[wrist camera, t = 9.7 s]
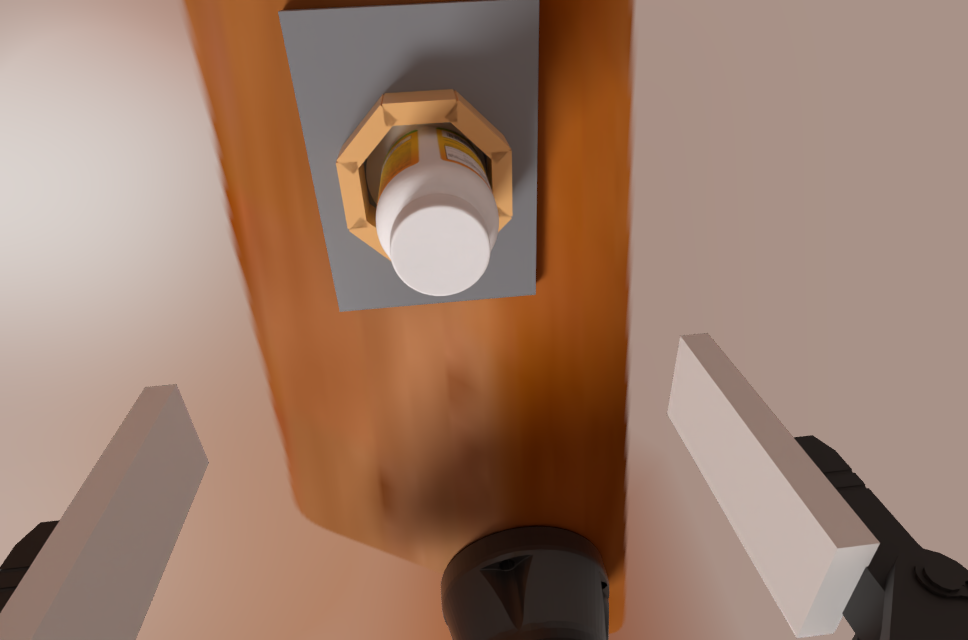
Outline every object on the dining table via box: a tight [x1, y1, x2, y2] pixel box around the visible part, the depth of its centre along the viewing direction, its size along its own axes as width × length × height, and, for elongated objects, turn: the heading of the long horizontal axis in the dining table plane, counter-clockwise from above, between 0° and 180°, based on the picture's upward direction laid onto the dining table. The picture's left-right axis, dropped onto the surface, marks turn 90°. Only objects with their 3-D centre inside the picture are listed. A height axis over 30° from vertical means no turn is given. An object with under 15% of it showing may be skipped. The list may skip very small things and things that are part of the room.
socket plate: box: [278, 0, 539, 312], centre depth 30 cm, size 16×12×4 cm
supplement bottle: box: [376, 126, 499, 296], centre depth 26 cm, size 5×5×10 cm
